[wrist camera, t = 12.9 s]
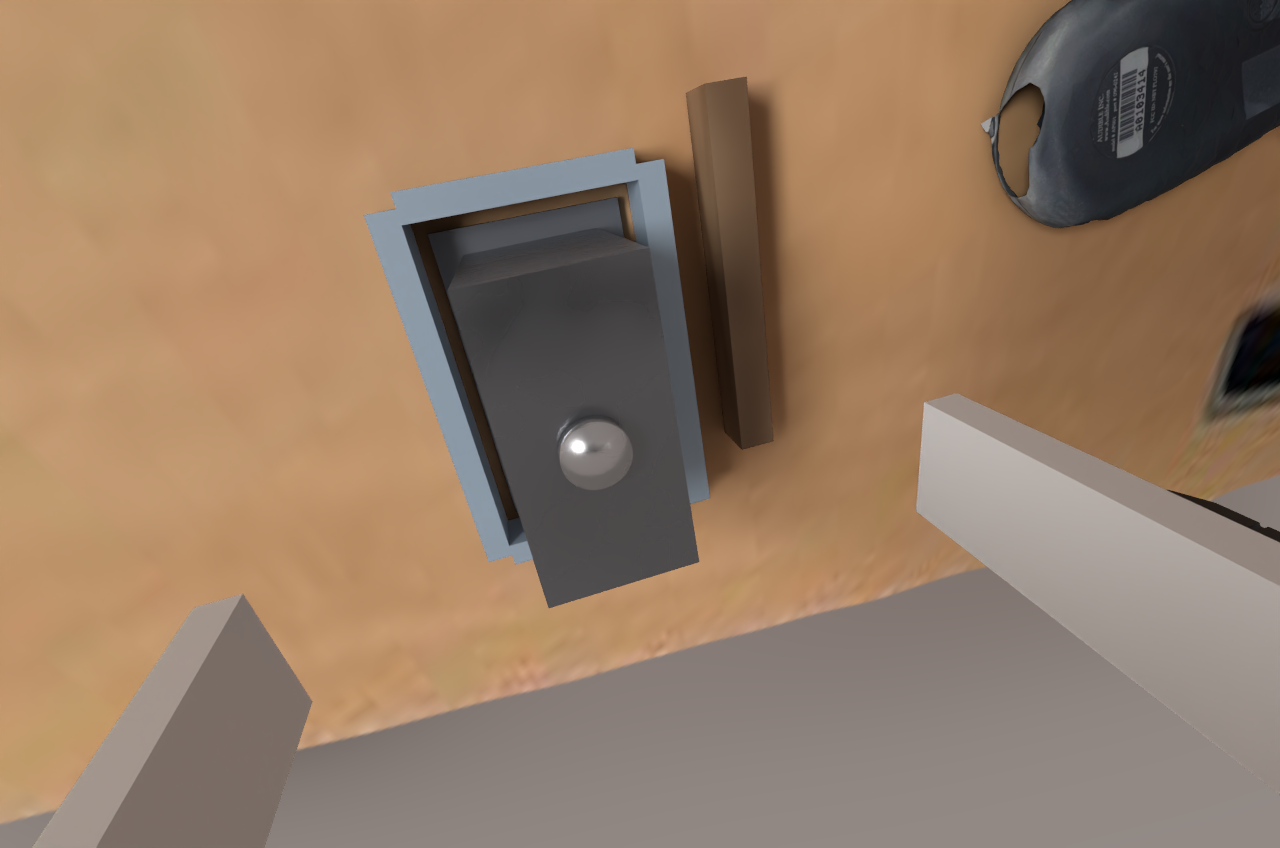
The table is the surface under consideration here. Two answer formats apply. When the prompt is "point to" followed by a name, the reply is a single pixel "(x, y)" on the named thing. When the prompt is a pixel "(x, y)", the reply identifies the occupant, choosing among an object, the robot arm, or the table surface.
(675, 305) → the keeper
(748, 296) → the door edge strip
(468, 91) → the table surface
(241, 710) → the robot arm
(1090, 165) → the electronic device
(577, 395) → the grey block with knob
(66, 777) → the table surface
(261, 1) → the table surface
